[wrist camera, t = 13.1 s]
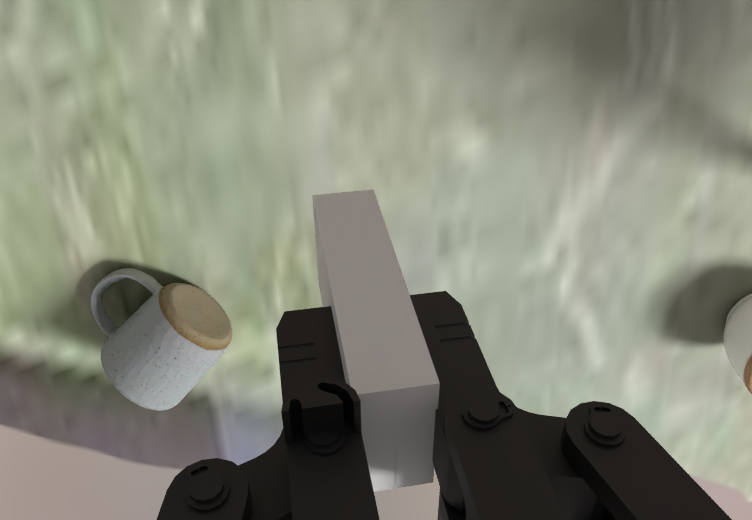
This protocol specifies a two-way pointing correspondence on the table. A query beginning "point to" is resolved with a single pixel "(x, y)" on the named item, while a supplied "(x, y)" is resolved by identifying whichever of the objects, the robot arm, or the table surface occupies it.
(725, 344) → the lidded jar
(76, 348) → the table surface
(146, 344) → the ceramic mug
